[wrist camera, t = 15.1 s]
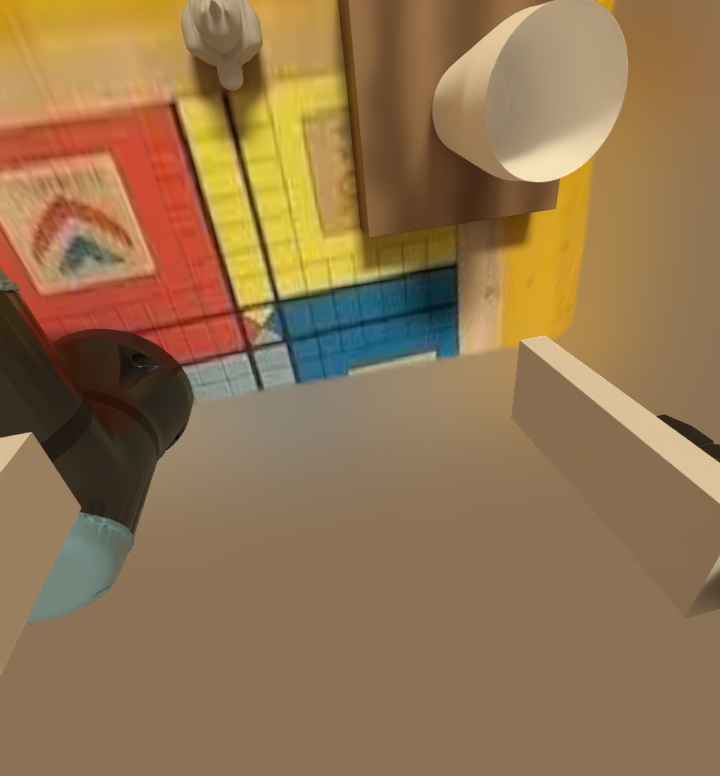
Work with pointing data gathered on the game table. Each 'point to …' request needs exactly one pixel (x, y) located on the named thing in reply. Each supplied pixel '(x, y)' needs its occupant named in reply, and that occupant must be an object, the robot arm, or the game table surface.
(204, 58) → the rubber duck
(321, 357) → the game table surface
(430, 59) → the walnut base
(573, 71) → the cup
